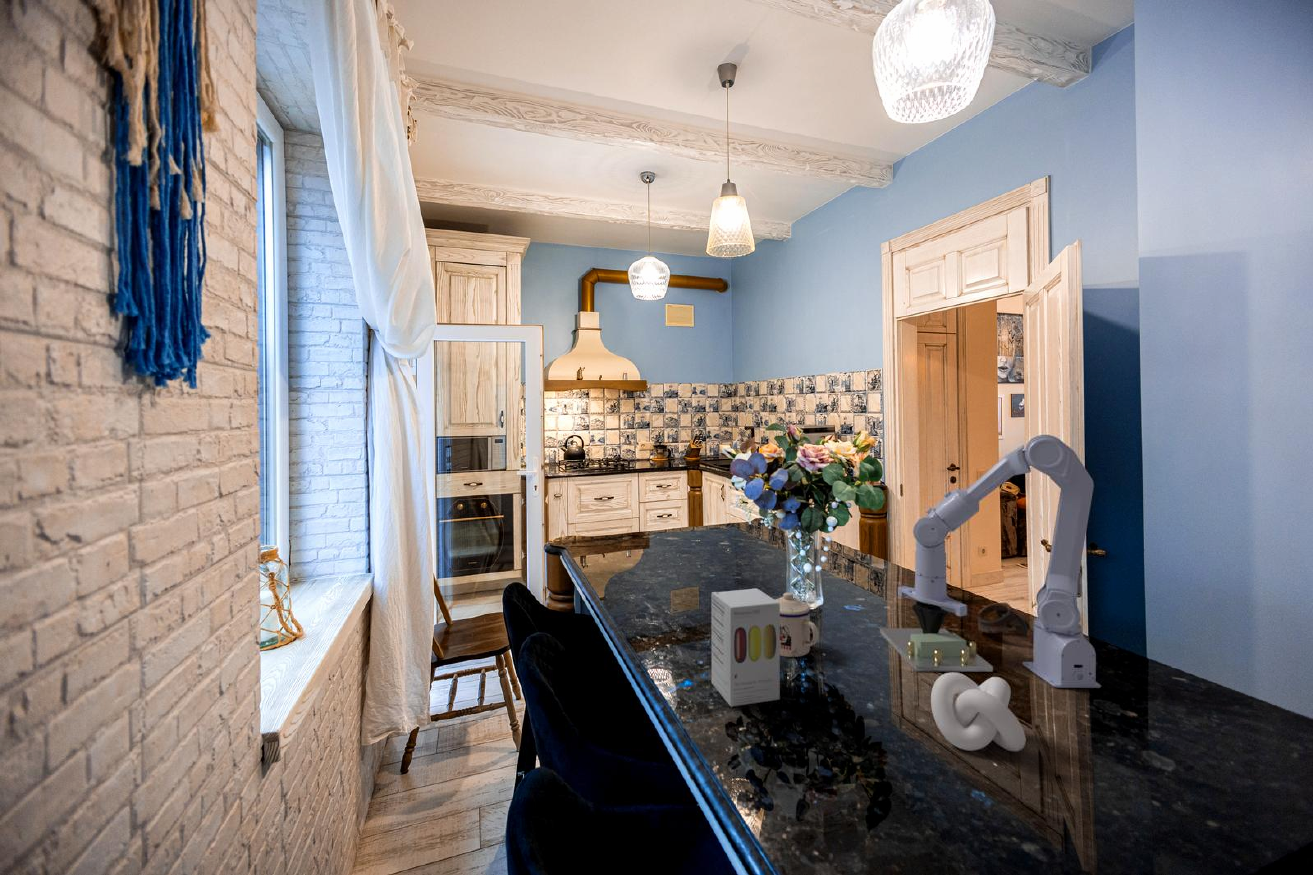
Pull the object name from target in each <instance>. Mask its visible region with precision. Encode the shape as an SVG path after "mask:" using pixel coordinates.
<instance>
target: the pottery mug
mask: <svg viewBox="0 0 1313 875" xmlns="http://www.w3.org/2000/svg"><path fill="white" fill-rule="evenodd" d="M992 612H994V614H995V615H996V616H997V618H995V619H992V620H987V619H984V617H985V616H987V615H989V614H990V613H992ZM977 614H978V616H977V618H976V620H977V621H978V625H977V628H978V631H979V633H980V634H981V635H982V634H983V633H985V634H986V633H987V634H991V633H994V634H996V633H1004V634H1009V632H1008V629H1012V628H1015V630H1016V634H1017V635H1021V636H1022V635H1024V636H1027V638H1028V641H1029V644H1034V637H1033V635H1032V634H1033V633H1032V631H1031V627H1030V624H1029V622H1028V621H1027V618H1026V617H1025V616H1024V615H1023V614H1022V613H1021V612H1020V611H1018V610H1017V609H1015V608H1013V607H1012V606H1011V605H1010V604H1009V603H1007V602H994V603H990V604H988V605H986V606H984V607H982V609H980V610H979V611H978V612H977Z"/></svg>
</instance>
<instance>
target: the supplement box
mask: <svg viewBox="0 0 1313 875" xmlns="http://www.w3.org/2000/svg"><path fill="white" fill-rule="evenodd" d="M780 657H781V656H780V603H779V602H777V601H776V600H775V599H774V597H771V596H769V595H768V594H767V593H765V592H763V591H762V590H760V589H758V588H756V587H755V588H749V589H737V590H728V591H712V592H711V684H712V685H713V686H714V688H715V689H716V690H717V691H718V693H719V694H720V696H721V697H723V699H724V701H725V702H726V703H727V704H728V705H729V706H730V707H731V708H733V707H738V706H745V705H750V704H757V703H763V702H770V701H777V700H780V698H781V696H780V695H781V694H780V687H781V686H780V685H781V684H780V682H781V681H780V680H781V679H780V678H781V675H780V673H781V672H780V668H781V667H780V661H781V658H780Z"/></svg>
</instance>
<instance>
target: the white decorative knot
mask: <svg viewBox="0 0 1313 875" xmlns="http://www.w3.org/2000/svg"><path fill="white" fill-rule="evenodd" d="M1011 693H1012V692H1011V687H1010V685H1009V683H1008V682H1007V681H1006V680H1005V679H1003V678H1002V677H999V676H992V677H990V678H987V679H986V680H984V682H982V683H981V684H980V685H978V684H977V683H976V682H975V681H973V680H972V679H971V678H969V677H968V676H966V675H965V674H963V673H960V672H945V673H944V674H941V675H940V676H939V677H938V678H937V679H936V680H935V682H934V684H933V685H932V690H931V694H930V705H931V712H932V716H933V719H934V721H935V724H936V726H937V728H938V730H939V731H940V733H941V734H942V735H943V737H944V738H945V739H946V740H947V741H948V742H949V743H950V744H951V745H953V746H954V747H956V748H959V749H960V750H964V751H967V752H968V751H971V752H973V751H978V750H980V749H984V748H985V747H987V746H988V745H989V744H990V743H991V742H992V741H994V743H996V745H998V746H1000V747H1001V748H1003V749H1004V750H1006V751H1008V752H1019V751H1020V750H1022V749H1024V748H1025V744H1026V741H1027V739H1026V735H1025V734H1026V733H1025V731H1024V728H1023V727H1022V724H1021V723H1020V721H1019V719H1018V718H1017V716H1015V715H1014V713H1013V711H1012V710H1011V709H1009V707H1008V706H1009V702H1010V700H1011V695H1012V694H1011ZM955 695H958V696H957V698H956V699H955V701H954V698H955ZM953 701H954V703H953Z"/></svg>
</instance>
